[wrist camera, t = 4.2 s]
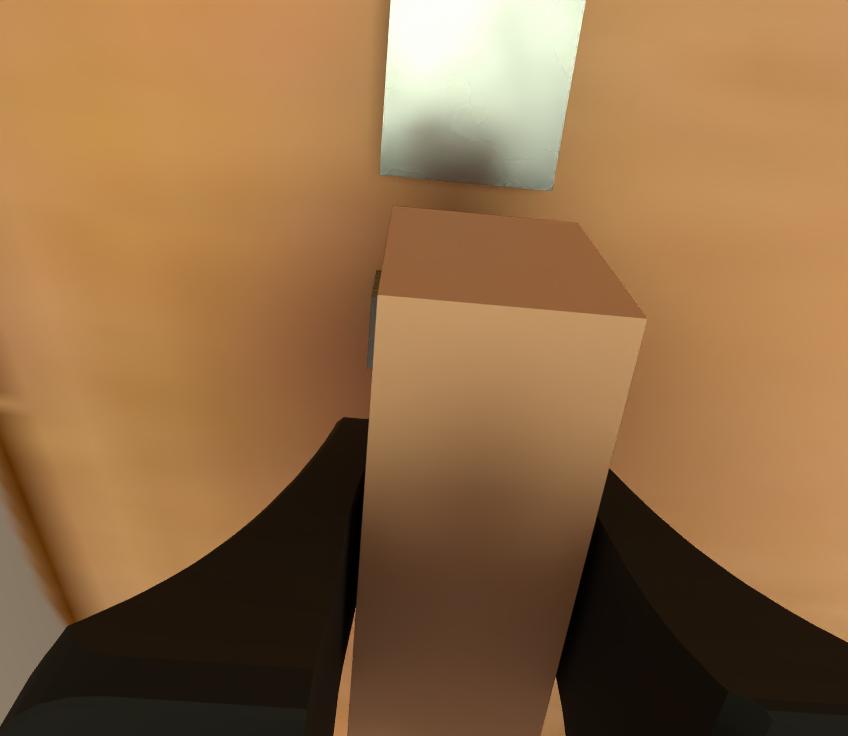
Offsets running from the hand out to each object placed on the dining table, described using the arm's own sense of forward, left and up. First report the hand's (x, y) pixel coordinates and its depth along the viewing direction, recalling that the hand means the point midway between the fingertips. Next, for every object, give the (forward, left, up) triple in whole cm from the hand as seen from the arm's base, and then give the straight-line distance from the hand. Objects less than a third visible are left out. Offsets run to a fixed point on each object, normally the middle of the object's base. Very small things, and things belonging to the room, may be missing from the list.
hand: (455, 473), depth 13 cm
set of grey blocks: (0, 0, -8) cm, 8 cm away
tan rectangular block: (+1, 0, -3) cm, 3 cm away
